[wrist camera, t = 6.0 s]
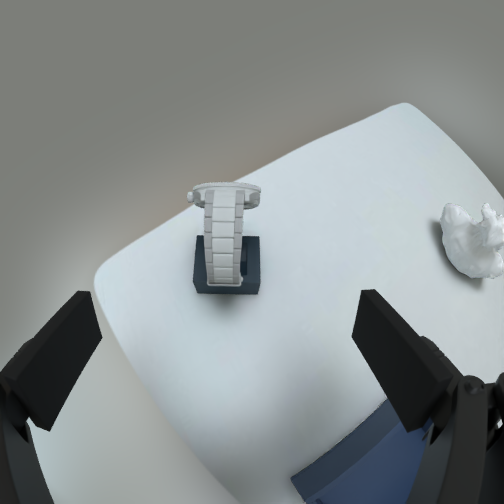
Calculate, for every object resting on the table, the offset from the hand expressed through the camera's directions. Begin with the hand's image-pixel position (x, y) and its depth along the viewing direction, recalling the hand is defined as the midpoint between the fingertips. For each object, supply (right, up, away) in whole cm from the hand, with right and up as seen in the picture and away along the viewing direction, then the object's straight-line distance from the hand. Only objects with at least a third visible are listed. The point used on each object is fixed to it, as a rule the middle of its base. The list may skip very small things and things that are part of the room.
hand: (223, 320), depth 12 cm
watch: (-1, +1, +14) cm, 14 cm away
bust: (+28, +2, +16) cm, 32 cm away
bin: (+14, -18, +5) cm, 24 cm away
